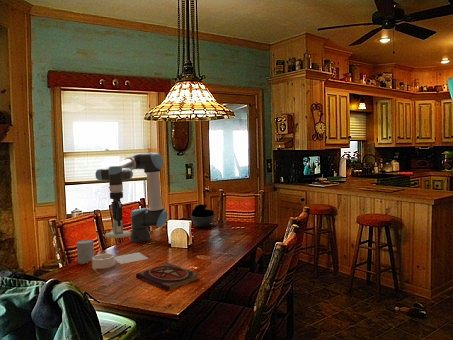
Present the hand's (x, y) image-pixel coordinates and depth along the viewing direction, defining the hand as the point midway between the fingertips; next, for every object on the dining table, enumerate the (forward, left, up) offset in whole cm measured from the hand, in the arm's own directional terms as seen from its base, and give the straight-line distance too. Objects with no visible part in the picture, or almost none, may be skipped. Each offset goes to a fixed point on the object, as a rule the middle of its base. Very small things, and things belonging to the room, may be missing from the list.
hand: (118, 230), depth 220 cm
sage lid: (0, 0, -3) cm, 3 cm away
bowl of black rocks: (-87, -54, -19) cm, 104 cm away
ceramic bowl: (+10, +2, -19) cm, 22 cm away
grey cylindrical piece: (+16, -16, -19) cm, 30 cm away
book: (-12, +43, -20) cm, 49 cm away
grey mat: (-7, -2, -19) cm, 21 cm away
